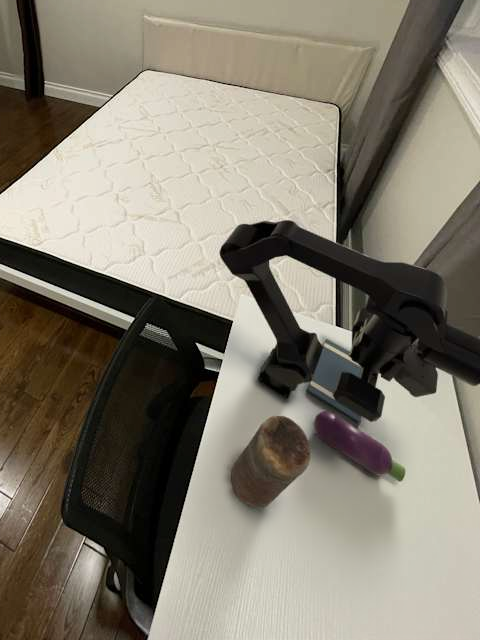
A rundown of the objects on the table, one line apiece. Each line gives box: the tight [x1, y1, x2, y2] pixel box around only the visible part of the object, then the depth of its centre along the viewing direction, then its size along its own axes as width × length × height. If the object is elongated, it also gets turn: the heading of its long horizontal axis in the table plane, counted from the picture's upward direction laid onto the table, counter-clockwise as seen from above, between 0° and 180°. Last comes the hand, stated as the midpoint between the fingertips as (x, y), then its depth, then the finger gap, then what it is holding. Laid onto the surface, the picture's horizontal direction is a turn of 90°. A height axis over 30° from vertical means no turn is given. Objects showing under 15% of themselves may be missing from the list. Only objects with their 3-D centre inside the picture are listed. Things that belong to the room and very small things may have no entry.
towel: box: [306, 338, 371, 424], centre depth 77 cm, size 10×14×1 cm
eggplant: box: [313, 410, 406, 482], centre depth 66 cm, size 15×5×5 cm, turn 54°
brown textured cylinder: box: [230, 415, 311, 509], centre depth 57 cm, size 8×7×20 cm
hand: (348, 381), depth 65 cm, fingers open, 9 cm apart
